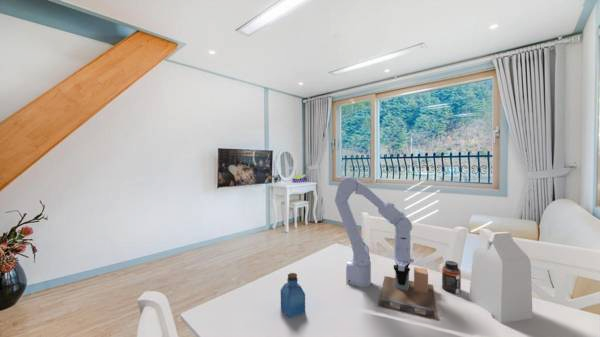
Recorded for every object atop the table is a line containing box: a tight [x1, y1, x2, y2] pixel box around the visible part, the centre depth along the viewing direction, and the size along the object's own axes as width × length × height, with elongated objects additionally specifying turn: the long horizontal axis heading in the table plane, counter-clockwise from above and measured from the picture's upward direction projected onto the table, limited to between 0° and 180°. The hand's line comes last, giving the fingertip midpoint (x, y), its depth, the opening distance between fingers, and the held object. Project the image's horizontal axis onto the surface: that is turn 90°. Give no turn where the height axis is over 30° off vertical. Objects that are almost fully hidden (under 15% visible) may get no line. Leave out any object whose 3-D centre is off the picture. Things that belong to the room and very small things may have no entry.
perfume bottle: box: [280, 272, 306, 318], centre depth 83 cm, size 6×6×12 cm
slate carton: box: [394, 266, 410, 290], centre depth 96 cm, size 5×4×7 cm
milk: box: [468, 231, 534, 324], centre depth 82 cm, size 12×12×26 cm
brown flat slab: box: [377, 275, 439, 321], centre depth 90 cm, size 18×23×3 cm
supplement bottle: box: [441, 260, 462, 295], centre depth 93 cm, size 6×6×11 cm
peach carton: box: [413, 266, 429, 293], centre depth 94 cm, size 5×4×7 cm
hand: (402, 281), depth 96 cm, fingers closed on slate carton, 4 cm apart
